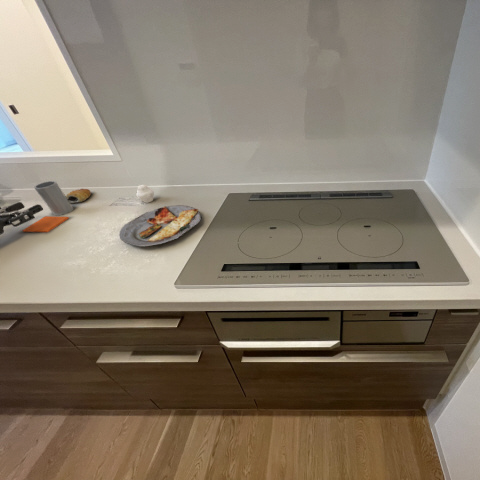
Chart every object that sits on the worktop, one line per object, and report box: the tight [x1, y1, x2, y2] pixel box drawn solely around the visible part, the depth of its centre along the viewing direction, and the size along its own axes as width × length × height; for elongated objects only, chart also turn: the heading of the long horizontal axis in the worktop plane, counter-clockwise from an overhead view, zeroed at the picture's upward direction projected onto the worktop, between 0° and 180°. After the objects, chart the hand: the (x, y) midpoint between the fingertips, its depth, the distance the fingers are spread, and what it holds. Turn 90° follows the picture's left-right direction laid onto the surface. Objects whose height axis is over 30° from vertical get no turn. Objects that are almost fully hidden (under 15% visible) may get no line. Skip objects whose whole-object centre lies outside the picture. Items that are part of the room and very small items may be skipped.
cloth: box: [21, 215, 70, 233], centre depth 94 cm, size 9×9×1 cm
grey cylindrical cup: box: [33, 180, 74, 216], centre depth 98 cm, size 6×6×11 cm
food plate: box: [118, 204, 202, 247], centre depth 90 cm, size 25×23×4 cm
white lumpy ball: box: [135, 184, 155, 204], centre depth 105 cm, size 6×6×7 cm
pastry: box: [65, 188, 92, 204], centre depth 109 cm, size 9×7×4 cm
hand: (31, 205), depth 92 cm, fingers open, 8 cm apart
